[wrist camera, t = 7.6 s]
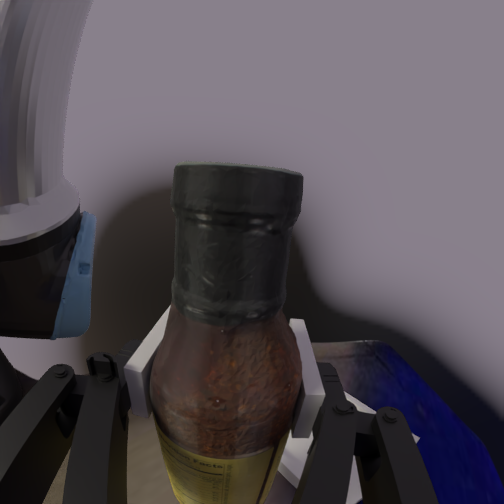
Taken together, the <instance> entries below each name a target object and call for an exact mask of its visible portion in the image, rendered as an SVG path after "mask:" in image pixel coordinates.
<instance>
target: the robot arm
mask: <svg viewBox="0 0 504 504" xmlns="http://www.w3.org/2000/svg"><path fill="white" fill-rule="evenodd" d="M92 2H93V0H0V336H5V337H17V338H32V339H50V340H55V339H56V338H66V337H67V338H68V337H78V336H81V335H82V334H84V333H85V332H86V331H87V329H88V327H89V324H90V308H91V281H92V264H93V252H94V241H95V231H96V217H95V215H93V214H89V213H88V212H86V211H84V212H82V213H80V198H79V192H78V190H77V189H76V187H75V186H74V185H72V184H71V183H70V182H69V181H68V180H67V179H65V177H64V176H63V145H64V132H65V121H66V112H67V104H68V97H69V91H70V85H71V79H72V74H73V69H74V64H75V60H76V55H77V51H78V47H79V43H80V40H81V36H82V33H83V29H84V26H85V23H86V19H87V16H88V13H89V11H90V7H91V5H92ZM170 306H171V305H170ZM170 306H169V308H168V309H167V310H166V312H165V313H164V314H163V316H162V317H161V318H160V320H159V321H158V322H157V323H156V325H155V326H154V328H153V329H152V330H151V331H150V333H149V334H148V335H147V337H146V338H145V339H144V341H140V340H136V339H133V340H131V341H129V342H128V343H126V344H125V345H124V347H123V348H122V350H120V351H119V353H118V354H117V355H116V356H115V357H114V356H113V355H111V354H109V353H105V352H98V353H94V354H92V355H90V356H89V357H88V358H87V359H86V360H87V365H88V369H89V373H90V376H84V375H75V374H74V370H73V369H72V367H71V366H68V365H65V364H57V365H54V366H52V367H51V368H49V369H48V371H47V372H46V373H45V374H44V375H43V376H42V377H41V378H40V380H39V381H38V382H37V383H36V384H35V385H34V386H33V387H32V389H31V390H30V391H29V392H28V393H27V394H26V396H25V397H24V398H23V399H22V396H23V393H22V387H21V384H20V381H19V379H18V376H17V374H16V371H15V369H14V367H13V366H12V365H11V363H10V362H9V361H8V359H7V358H6V356H5V355H4V353H3V352H2V350H1V349H0V504H42V503H43V501H44V499H45V497H46V495H47V492H48V490H49V488H50V486H51V484H52V482H53V480H54V478H55V476H56V474H57V472H58V470H59V468H60V466H61V464H62V462H63V461H64V459H65V457H66V455H67V453H68V451H69V449H70V447H71V451H70V456H69V461H68V467H67V473H66V479H65V486H64V494H63V503H62V504H127V440H128V423H129V418H128V413H127V412H128V410H129V409H130V407H131V408H132V413H133V414H134V415H138V416H141V417H145V418H149V416H150V414H151V412H152V407H151V401H150V392H149V384H150V377H151V372H152V367H153V362H154V359H155V357H156V354H157V352H158V350H159V348H160V345H161V342H162V339H163V336H164V332H165V328H166V324H167V319H168V315H169V311H170ZM289 326H290V327H291V328H292V330H293V332H294V333H295V336H296V339H297V345H298V348H299V351H300V358H301V361H302V381H301V385H300V389H299V393H298V396H297V400H296V404H295V408H294V414H295V415H294V420H293V423H292V427H291V436H292V438H309V437H310V435H311V432H312V433H313V440H312V443H311V445H310V447H309V450H308V452H307V454H308V456H307V459H306V462H305V465H304V469H303V472H302V475H301V478H300V481H299V484H298V487H297V490H296V493H295V495H294V498H293V501H292V504H346V500H347V495H348V489H349V483H350V477H351V470H352V463H353V455H354V456H355V460H356V465H357V471H358V476H359V482H360V488H361V494H362V500H363V504H439V503H438V500H437V497H436V494H435V491H434V489H433V486H432V483H431V480H430V478H429V475H428V472H427V470H426V467H425V465H424V462H423V459H422V457H421V454H420V452H419V449H418V447H417V445H416V442H415V440H414V437H413V435H412V433H411V430H410V428H409V426H408V423H407V421H406V419H405V417H404V415H403V413H402V412H401V411H399V410H398V409H396V408H393V407H382V408H380V409H378V410H377V412H376V414H371V413H365V412H361V411H358V410H357V407H356V406H355V405H354V404H353V403H352V402H350V401H348V400H347V399H346V396H345V393H344V390H343V388H342V385H341V382H340V379H339V377H338V374H337V371H336V369H335V368H334V367H333V366H332V365H331V364H330V363H318V362H316V360H315V357H314V353H313V350H312V346H311V343H310V340H309V336H308V333H307V330H306V326H305V323H304V320H300V319H291V320H290V325H289Z"/></svg>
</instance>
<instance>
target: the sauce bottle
mask: <svg viewBox="0 0 504 504" xmlns="http://www.w3.org/2000/svg"><path fill="white" fill-rule="evenodd" d="M302 195H303V176H302V174H301V173H298V172H294V171H290V170H287V169H282V168H274V167H266V166H257V165H246V164H235V163H234V164H233V163H218V162H180V163H178V164H177V165H176V167H175V169H174V177H173V186H172V192H171V200H170V202H171V206H172V209H173V212H174V214H175V216H176V230H175V276H174V279H173V280H172V302H171V306H170V311H169V315H168V319H167V324H166V328H165V332H164V336H163V339H162V342H161V345H160V348H159V350H158V352H157V354H156V357H155V359H154V362H153V367H152V372H151V377H150V384H149V392H150V401H151V407H152V412H153V417H154V421H155V426H156V430H157V434H158V438H159V442H160V446H161V451H162V455H163V458H164V462H165V465H166V469H167V472H168V475H169V479H170V482H171V485H172V489H173V492H174V494H175V496H176V498H177V499H178V501H179V502H180V504H263V503H264V502H265V500H266V498H267V496H268V494H269V491H270V489H271V486H272V484H273V481H274V478H275V475H276V473H277V470H278V467H279V464H280V461H281V458H282V455H283V452H284V449H285V446H286V443H287V440H288V437H289V433H290V430H291V427H292V423H293V420H294V415H295V414H294V408H295V404H296V400H297V396H298V393H299V389H300V385H301V381H302V361H301V358H300V351H299V348H298V345H297V339H296V336H295V333H294V332H293V330H292V328H291V327H290V326H289V324H288V322H287V320H286V318H285V315H284V314H283V313H282V306H283V304H284V302H285V300H286V293H287V292H286V285H285V282H286V274H287V268H288V262H289V250H290V246H291V233H292V229H293V225H294V224H295V222H296V221H297V218H298V216H299V214H300V212H301V201H302Z"/></svg>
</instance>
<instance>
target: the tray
mask: <svg viewBox="0 0 504 504" xmlns="http://www.w3.org/2000/svg"><path fill="white" fill-rule="evenodd" d="M344 393H345V396H346V399H347V400H348V401H350V402H352V403H353V404H354V405H355V406H356V407H357V410H358V411H361V412H365V413H371V414H376V411H374V410H372V409H371V408H369V407H368V406H366V405H365V404H363V403H361V402H360V401H358V400H357V399H355V398H354V397H352V396H351V395H349V394H348V393H346V392H345V391H344ZM412 435H413V437H414V440H415V442H416V443H417V442H418V440H419V439H420V438H419V437H417V436H416V435H414V434H412ZM312 440H313V433H312V432H311V435H310V437H309V438H292V436H291V430H290V433H289V437H288V440H287V443H286V446H285V449H284V452H283V455H282V458H281V461H280V464H279V467H278V471H279V472H280V473H281V474H282V475H283V476H284V477H285V478H286V479H287V480H288V481H289V482H290V483H291V484H292V485H293V486H294V487H295V488H296V489H297V487H298V484H299V481H300V478H301V475H302V472H303V469H304V465H305V462H306V459H307V456H308V454H307V452H308V450H309V447H310V445H311V443H312ZM361 500H362V494H361V488H360V482H359V476H358V471H357V465H356V460H355V456H354V455H353V463H352V470H351V477H350V483H349V489H348V495H347V500H346V504H357V503H358V502H359V501H361Z"/></svg>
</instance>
